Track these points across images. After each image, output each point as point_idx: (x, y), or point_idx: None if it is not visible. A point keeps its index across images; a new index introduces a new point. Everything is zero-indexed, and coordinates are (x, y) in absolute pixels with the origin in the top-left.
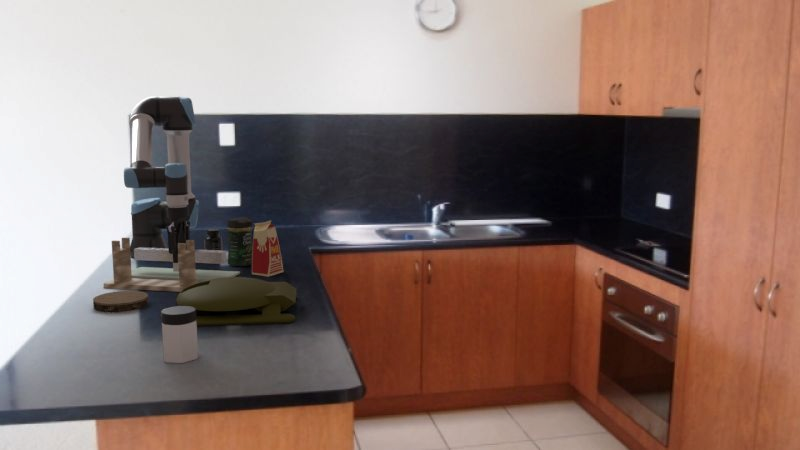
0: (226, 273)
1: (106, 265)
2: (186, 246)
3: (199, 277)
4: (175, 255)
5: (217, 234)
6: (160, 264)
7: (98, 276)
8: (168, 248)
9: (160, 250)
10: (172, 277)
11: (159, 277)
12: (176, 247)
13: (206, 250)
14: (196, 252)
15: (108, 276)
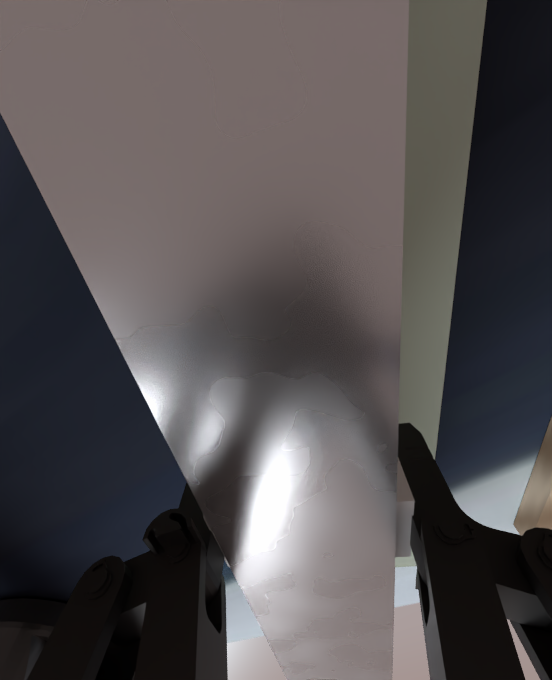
0: None
1: (254, 637)
2: (176, 598)
3: (410, 110)
4: (452, 506)
5: None
6: (137, 552)
7: (419, 598)
8: (279, 653)
9: (392, 658)
10: (445, 346)
11: (436, 421)
12: (509, 647)
13: (95, 92)
14: (397, 272)
15: (413, 581)
